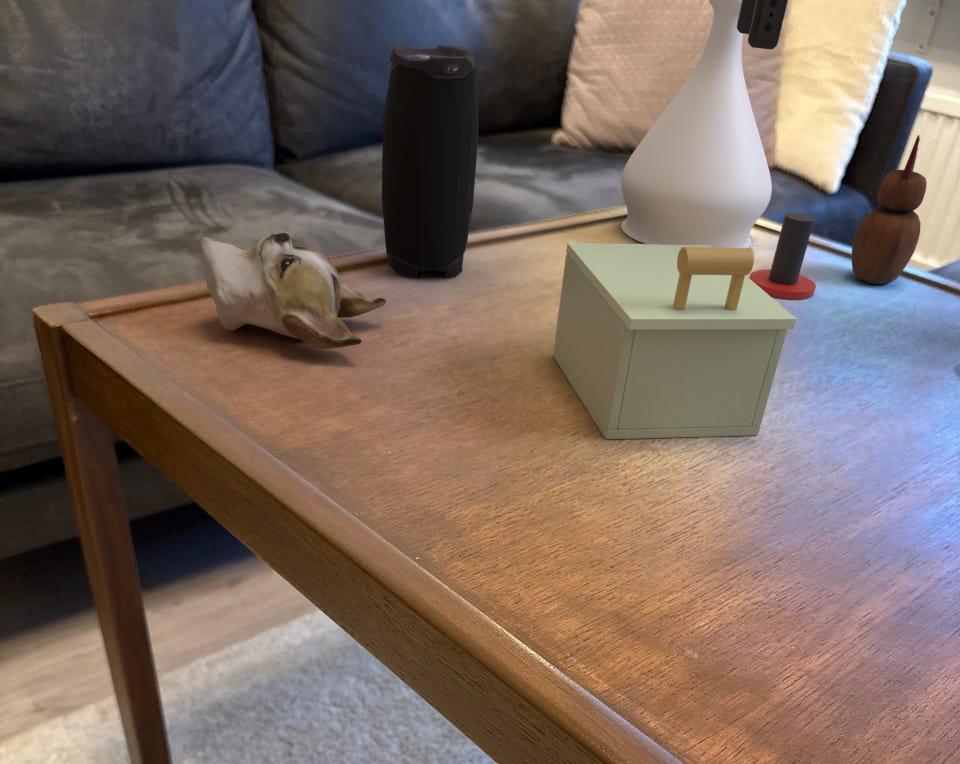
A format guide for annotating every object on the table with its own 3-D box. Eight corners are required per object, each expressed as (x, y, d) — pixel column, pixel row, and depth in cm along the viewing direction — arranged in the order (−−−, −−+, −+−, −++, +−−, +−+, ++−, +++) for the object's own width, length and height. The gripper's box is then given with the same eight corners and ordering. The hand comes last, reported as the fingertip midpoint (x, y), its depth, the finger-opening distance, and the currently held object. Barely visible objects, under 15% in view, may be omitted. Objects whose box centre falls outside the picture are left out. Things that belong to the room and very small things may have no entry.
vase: (594, 212, 122) (629, -29, 107) (721, 214, 127) (772, -18, 111) (645, 258, 109) (692, -8, 94) (784, 258, 114) (852, 3, 98)
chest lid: (793, 329, 71) (814, 258, 68) (628, 329, 68) (641, 256, 65) (708, 254, 83) (722, 192, 80) (565, 252, 80) (574, 187, 77)
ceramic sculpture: (223, 199, 84) (393, 232, 84) (226, 298, 90) (385, 329, 89) (175, 236, 76) (363, 273, 76) (181, 343, 82) (357, 377, 81)
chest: (758, 435, 77) (789, 326, 71) (605, 439, 74) (625, 326, 69) (686, 354, 89) (708, 255, 83) (552, 356, 86) (565, 253, 81)
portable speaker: (364, 266, 100) (364, 45, 88) (422, 248, 106) (430, 39, 94) (429, 289, 97) (439, 61, 84) (485, 268, 103) (502, 53, 91)
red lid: (768, 272, 109) (786, 203, 105) (825, 290, 106) (846, 220, 101) (735, 284, 105) (752, 213, 100) (793, 304, 101) (813, 231, 97)
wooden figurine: (880, 292, 107) (930, 141, 97) (834, 276, 110) (879, 129, 100) (911, 282, 110) (963, 136, 101) (866, 267, 113) (912, 123, 104)
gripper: (891, -232, 63) (816, 59, 73) (849, -217, 74) (789, 34, 84) (773, -244, 63) (715, 48, 73) (749, -227, 74) (701, 24, 84)
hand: (754, 40), depth 78 cm, fingers open, 8 cm apart
